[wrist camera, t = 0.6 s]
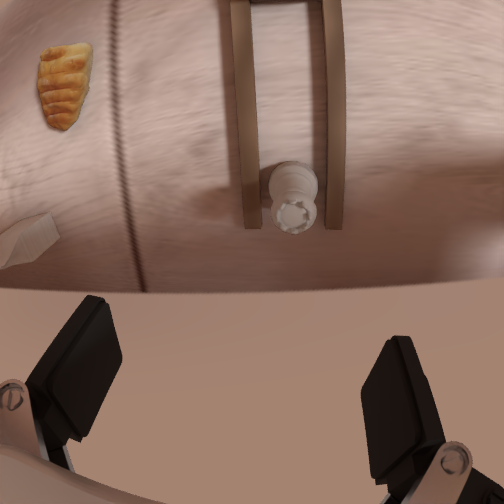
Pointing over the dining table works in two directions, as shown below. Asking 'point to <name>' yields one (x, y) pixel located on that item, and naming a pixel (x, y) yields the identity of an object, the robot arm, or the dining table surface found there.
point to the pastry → (64, 82)
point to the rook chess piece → (293, 196)
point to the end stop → (280, 0)
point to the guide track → (249, 112)
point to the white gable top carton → (27, 240)
